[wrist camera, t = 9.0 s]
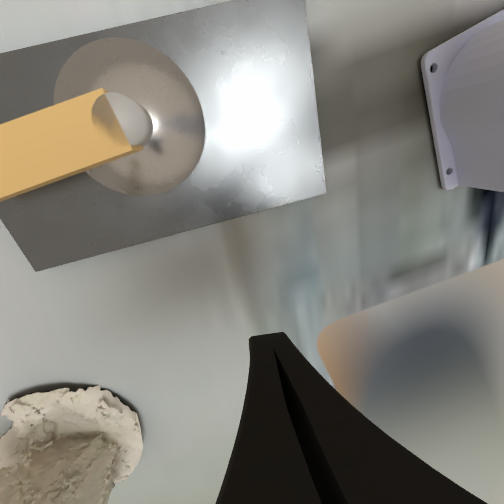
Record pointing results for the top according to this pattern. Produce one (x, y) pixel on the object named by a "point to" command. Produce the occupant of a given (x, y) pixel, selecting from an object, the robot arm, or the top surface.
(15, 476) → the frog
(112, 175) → the silver metal slab
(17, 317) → the top surface
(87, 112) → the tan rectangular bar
